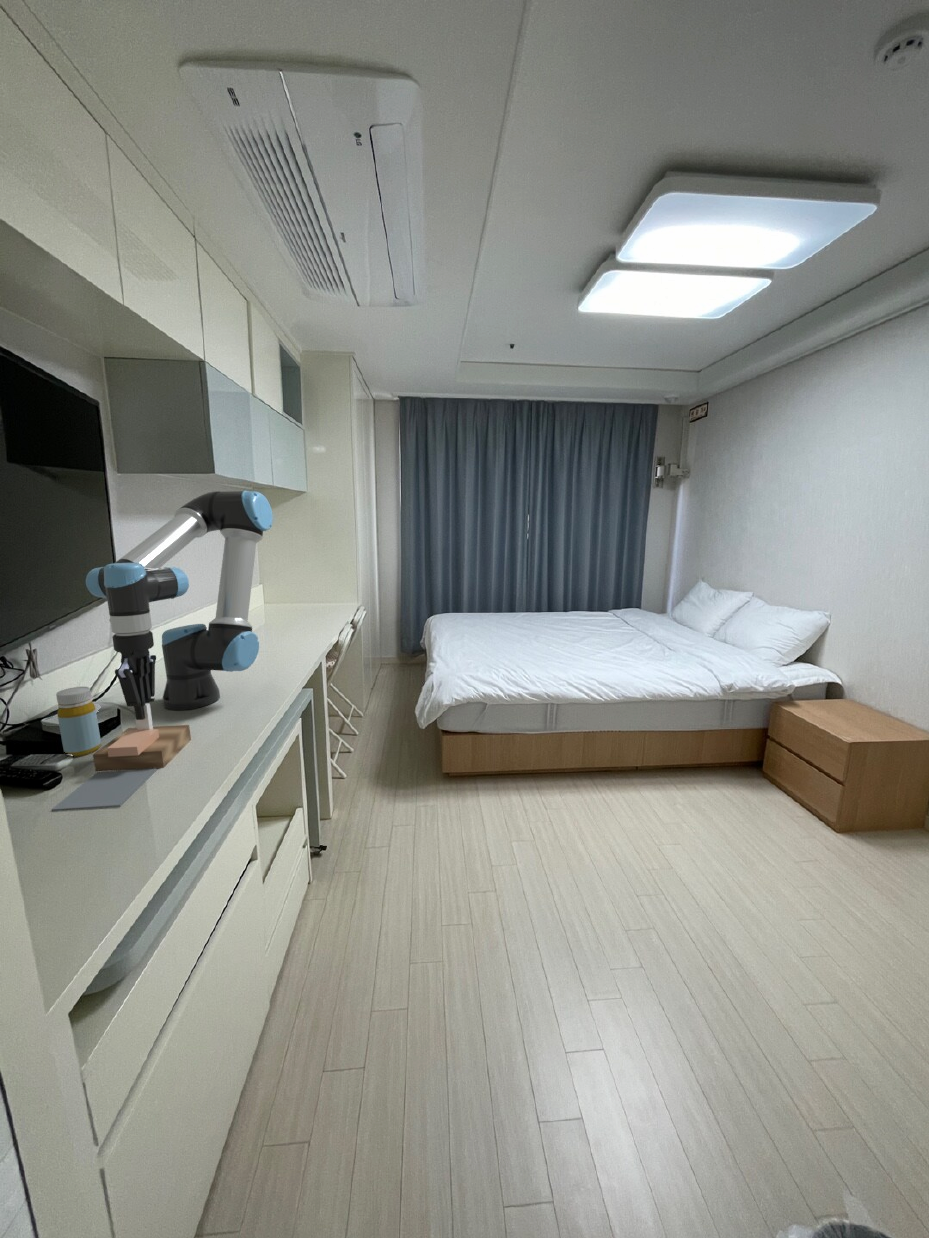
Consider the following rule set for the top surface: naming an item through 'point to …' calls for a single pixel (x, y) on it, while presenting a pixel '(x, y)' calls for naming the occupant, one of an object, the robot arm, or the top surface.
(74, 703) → the bottle
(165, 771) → the top surface
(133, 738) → the tile
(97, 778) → the mat
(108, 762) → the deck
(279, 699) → the top surface
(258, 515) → the robot arm
